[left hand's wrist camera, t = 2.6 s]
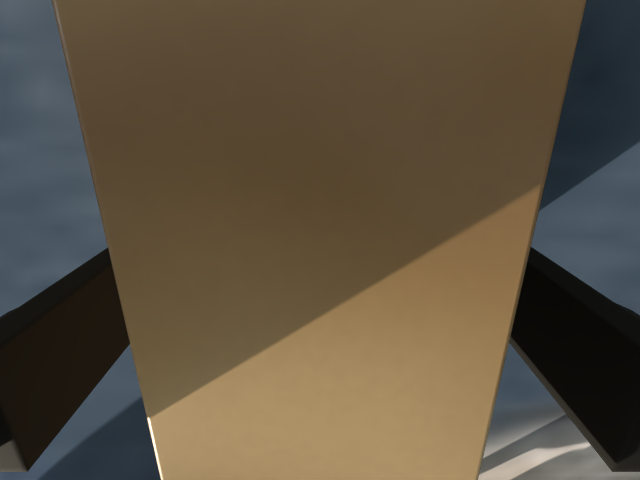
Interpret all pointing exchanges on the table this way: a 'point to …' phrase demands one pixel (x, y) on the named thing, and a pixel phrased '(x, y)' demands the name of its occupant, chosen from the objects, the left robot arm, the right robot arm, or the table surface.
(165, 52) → the long box
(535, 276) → the left robot arm
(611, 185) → the table surface
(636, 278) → the table surface
